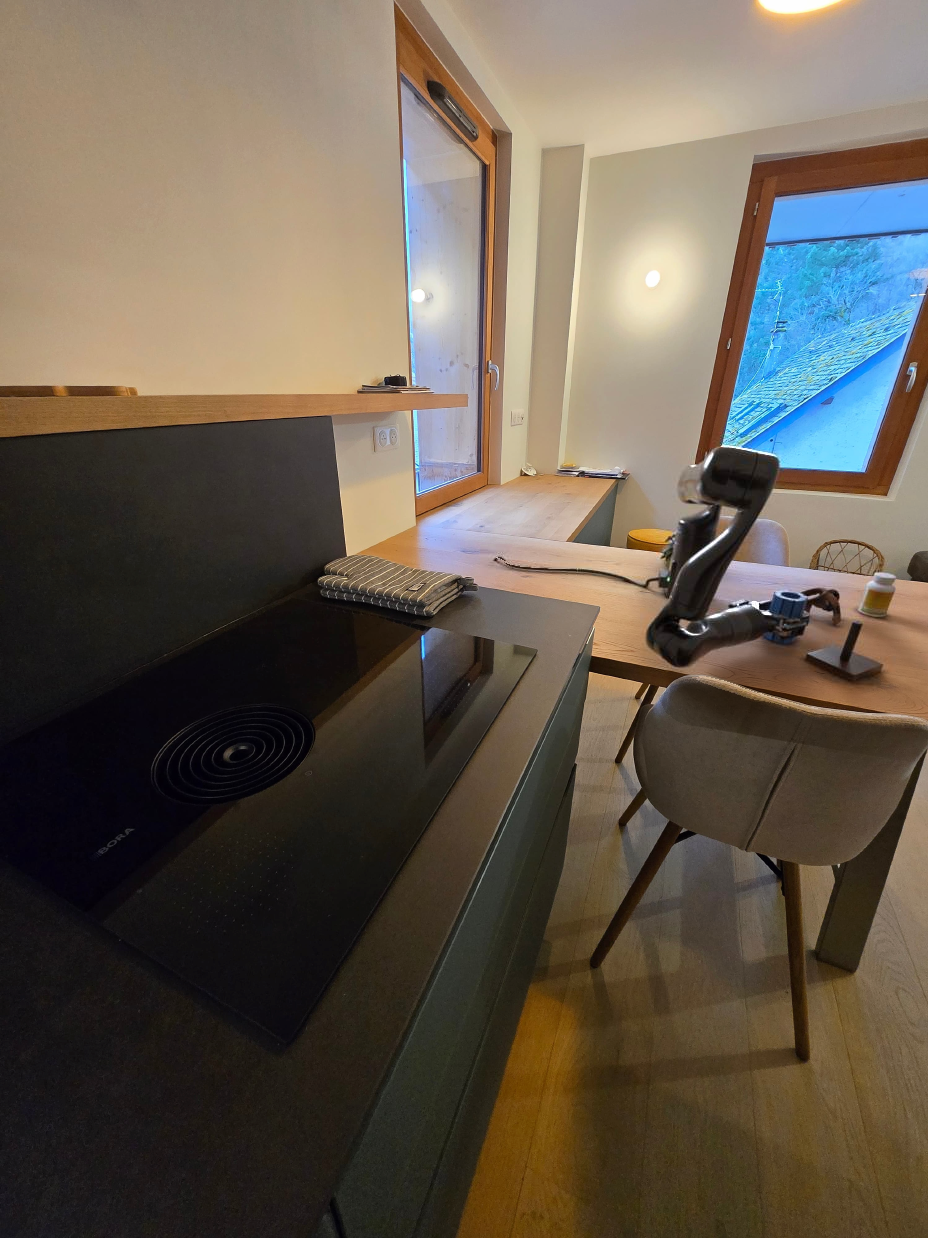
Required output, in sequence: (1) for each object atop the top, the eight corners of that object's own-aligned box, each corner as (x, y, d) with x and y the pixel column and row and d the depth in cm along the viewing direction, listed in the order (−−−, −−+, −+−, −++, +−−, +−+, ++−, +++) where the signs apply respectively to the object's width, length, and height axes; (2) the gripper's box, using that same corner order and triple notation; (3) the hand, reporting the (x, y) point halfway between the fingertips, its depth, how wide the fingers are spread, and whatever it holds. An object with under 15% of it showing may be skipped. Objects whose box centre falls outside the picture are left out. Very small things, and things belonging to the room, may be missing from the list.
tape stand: (851, 681, 92) (868, 637, 88) (804, 660, 100) (818, 617, 96) (880, 671, 95) (898, 627, 91) (833, 650, 103) (847, 609, 99)
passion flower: (664, 577, 158) (672, 542, 159) (700, 578, 150) (708, 542, 152) (651, 565, 149) (660, 528, 151) (688, 566, 142) (697, 527, 143)
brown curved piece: (833, 633, 111) (820, 601, 110) (791, 634, 119) (778, 604, 118) (859, 607, 115) (847, 576, 114) (816, 610, 124) (804, 582, 123)
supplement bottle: (890, 618, 116) (905, 579, 112) (864, 616, 117) (878, 578, 113) (877, 609, 121) (892, 571, 117) (853, 607, 122) (866, 570, 118)
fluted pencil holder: (766, 641, 107) (778, 599, 103) (760, 629, 112) (771, 588, 108) (797, 645, 105) (811, 602, 101) (790, 632, 110) (802, 591, 106)
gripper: (770, 623, 93) (826, 608, 99) (709, 597, 105) (762, 584, 111) (760, 658, 96) (815, 641, 102) (702, 628, 108) (754, 614, 114)
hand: (787, 611), depth 106 cm, fingers open, 8 cm apart
